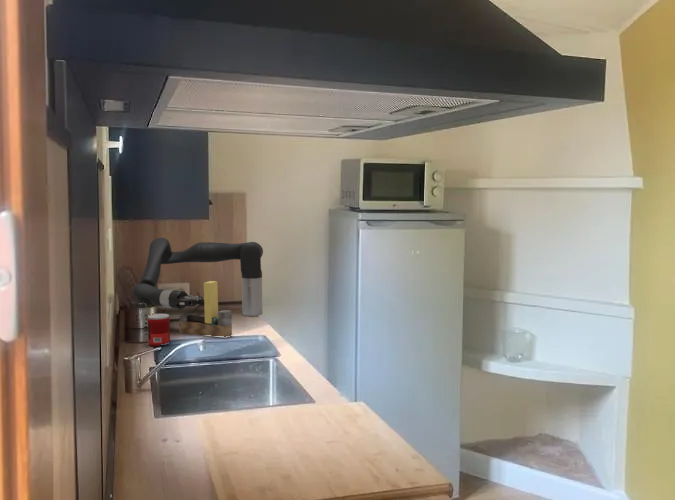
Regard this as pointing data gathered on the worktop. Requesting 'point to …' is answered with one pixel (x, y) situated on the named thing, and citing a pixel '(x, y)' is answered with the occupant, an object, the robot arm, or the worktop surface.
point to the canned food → (158, 329)
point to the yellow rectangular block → (210, 300)
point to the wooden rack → (206, 324)
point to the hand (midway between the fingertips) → (207, 302)
